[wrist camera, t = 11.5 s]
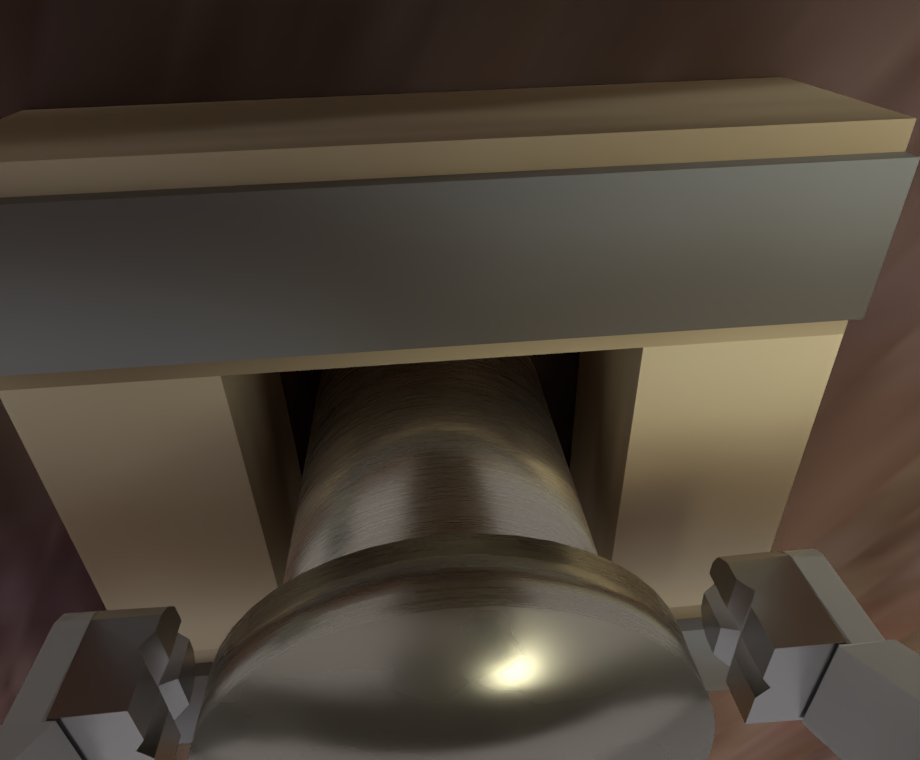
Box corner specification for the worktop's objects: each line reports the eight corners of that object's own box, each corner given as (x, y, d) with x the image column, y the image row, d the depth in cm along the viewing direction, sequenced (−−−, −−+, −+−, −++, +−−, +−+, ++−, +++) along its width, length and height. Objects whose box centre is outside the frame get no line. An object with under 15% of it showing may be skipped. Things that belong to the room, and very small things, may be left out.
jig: (22, 110, 11) (-134, 174, 8) (783, 77, 12) (933, 123, 8) (209, 613, 18) (169, 755, 15) (671, 572, 19) (729, 699, 15)
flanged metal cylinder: (258, 282, 13) (110, 641, 6) (579, 264, 13) (769, 582, 6) (308, 517, 16) (249, 907, 10) (561, 497, 17) (672, 861, 10)
